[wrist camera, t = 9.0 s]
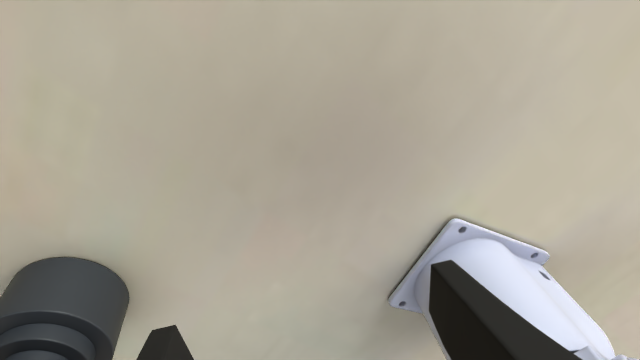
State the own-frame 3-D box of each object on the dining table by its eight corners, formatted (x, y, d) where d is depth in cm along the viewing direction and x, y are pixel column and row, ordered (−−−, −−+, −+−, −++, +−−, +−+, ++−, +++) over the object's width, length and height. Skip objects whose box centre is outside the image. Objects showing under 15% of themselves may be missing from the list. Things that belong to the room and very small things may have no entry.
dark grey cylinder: (141, 270, 22) (110, 378, 16) (115, 337, 24) (81, 450, 19) (18, 245, 20) (-65, 361, 14) (3, 321, 22) (-73, 446, 17)
